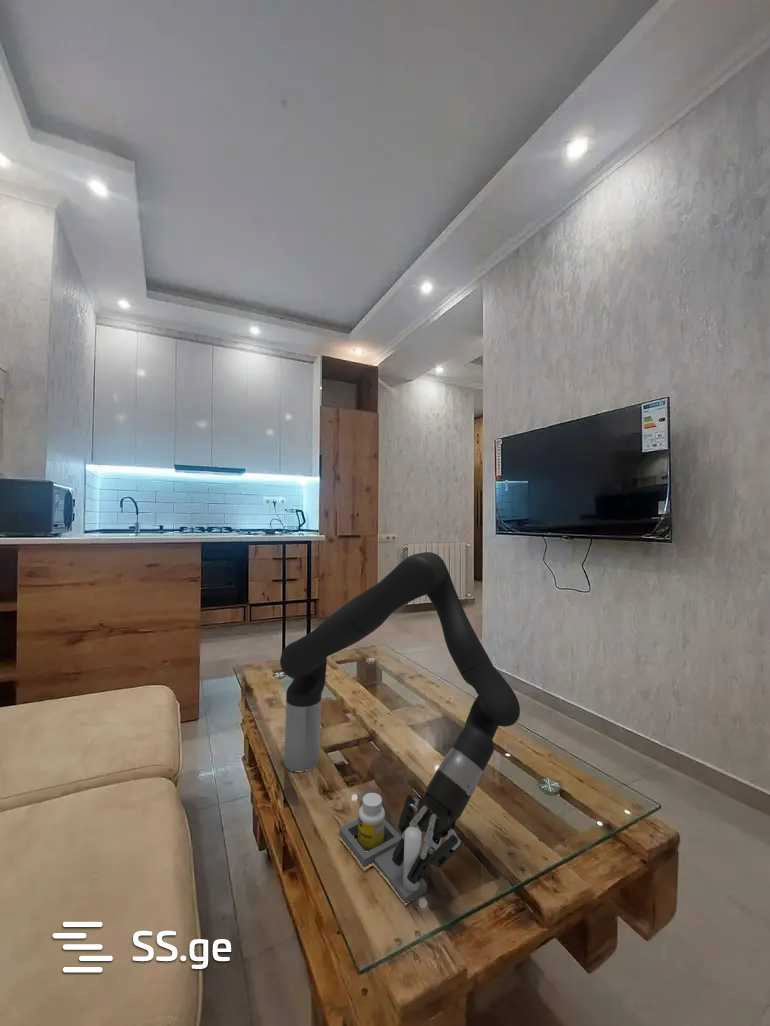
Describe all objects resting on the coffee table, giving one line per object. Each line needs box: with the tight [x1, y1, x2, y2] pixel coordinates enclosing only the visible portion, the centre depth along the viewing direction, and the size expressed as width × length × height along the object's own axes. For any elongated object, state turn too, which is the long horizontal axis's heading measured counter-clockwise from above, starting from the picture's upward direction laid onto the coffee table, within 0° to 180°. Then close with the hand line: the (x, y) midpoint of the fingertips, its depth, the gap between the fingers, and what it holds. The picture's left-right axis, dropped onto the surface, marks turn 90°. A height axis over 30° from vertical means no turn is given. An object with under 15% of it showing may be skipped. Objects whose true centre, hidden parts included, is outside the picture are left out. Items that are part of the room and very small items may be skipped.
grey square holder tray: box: [338, 818, 428, 903], centre depth 84 cm, size 19×9×11 cm, turn 36°
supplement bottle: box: [357, 792, 386, 851], centre depth 88 cm, size 5×5×10 cm
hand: (403, 871), depth 76 cm, fingers open, 3 cm apart
